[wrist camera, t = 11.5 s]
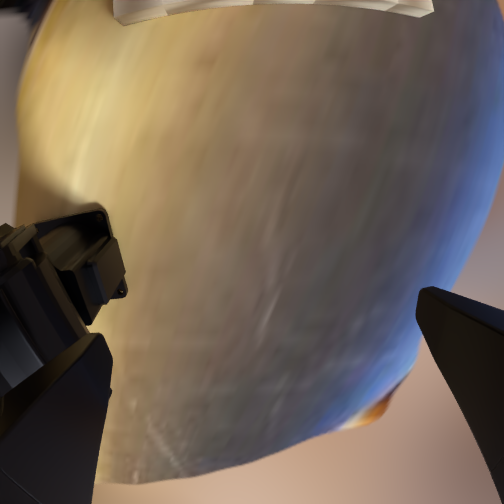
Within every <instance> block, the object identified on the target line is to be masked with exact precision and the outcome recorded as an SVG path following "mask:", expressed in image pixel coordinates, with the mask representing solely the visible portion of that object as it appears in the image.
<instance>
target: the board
mask: <svg viewBox="0 0 504 504" xmlns="http://www.w3.org/2000/svg"><path fill="white" fill-rule="evenodd" d="M284 3H295V4H325V5H339V6H350V7H360V8H368V9H375V10H382V11H388V12H394V13H399V14H405V15H410V16H414V17H422V16H424V15H426V14H429V13H431V12H434V9H433V4H432V0H113V14H114V18H115V19H116V20H117V21H118V22H120V23H121V24H122V25H123V26H125V25H129V24H133V23H136V22H140V21H145V20H149V19H153V18H158V17H163V16H167V15H173V14H178V13H184V12H190V11H196V10H203V9H210V8H219V7H228V6H239V5H254V4H284Z"/></svg>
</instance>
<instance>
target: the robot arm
mask: <svg viewBox="0 0 504 504" xmlns="http://www.w3.org/2000/svg"><path fill="white" fill-rule="evenodd" d="M98 214H101V215H102V217H103V220H100V219H99V218H98ZM36 228H38V230H39V232H37V230H36ZM125 273H126V271H125V268H124V264H123V260H122V257H121V253H120V249H119V245H118V242H117V239H116V238H115V237H113V234H112V230H111V225H110V221H109V217H108V214H107V212H106V211H105V210H104V209H96V210H91V211H86V212H82V213H77V214H72V215H67V216H63V217H58V218H54V219H49V220H45V221H41V222H37V223H35V224H34V223H33V224H31V225H29V226H27V227H25V225H22V226H20V227H18V228H13V227H11V226H10V225H8V224H6V223H5V224H3V225H1V226H0V504H91V503H92V495H93V488H94V481H95V474H96V468H97V462H98V456H99V450H100V444H101V439H102V434H103V429H104V424H105V419H106V414H107V408H108V401H109V399H110V397H111V394H112V389H111V388H110V383H111V374H112V366H113V358H112V355H111V352H110V350H109V348H108V345H107V343H106V341H105V338H104V336H103V335H102V334H101V333H90V332H89V331H88V329H87V327H86V326H89V325H91V324H92V323H93V321H94V319H95V317H96V316H97V314H98V312H99V310H100V309H101V307H102V305H106V304H107V303H108V302H109V300H110V299H119V298H124V297H125V296H126V295H127V293H128V288H127V284H126V281H125V278H124V274H125ZM118 289H121V290H123V293H122V292H120V291H119V290H118ZM416 320H417V323H418V325H419V327H420V329H421V331H422V334H423V336H424V338H425V340H426V342H427V345H428V347H429V349H430V352H431V354H432V356H433V358H434V360H435V362H436V364H437V366H438V368H439V369H440V371H441V373H442V375H443V377H444V379H445V380H446V382H447V384H448V386H449V388H450V389H451V391H452V393H453V395H454V397H455V399H456V401H457V403H458V405H459V407H460V409H461V411H462V413H463V415H464V417H465V419H466V421H467V423H468V425H469V427H470V429H471V431H472V433H473V435H474V438H475V440H476V442H477V444H478V446H479V448H480V451H481V453H482V455H483V457H484V459H485V462H486V464H487V466H488V469H489V471H490V474H491V476H492V479H493V481H494V484H495V486H496V489H497V491H498V494H499V497H500V499H501V502H502V504H504V310H501V309H498V308H495V307H492V306H489V305H486V304H484V303H481V302H478V301H475V300H472V299H469V298H466V297H463V296H461V295H458V294H455V293H452V292H449V291H446V290H443V289H440V288H437V287H434V286H430V287H426V288H422V289H421V290H420V292H419V295H418V301H417V307H416Z"/></svg>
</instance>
